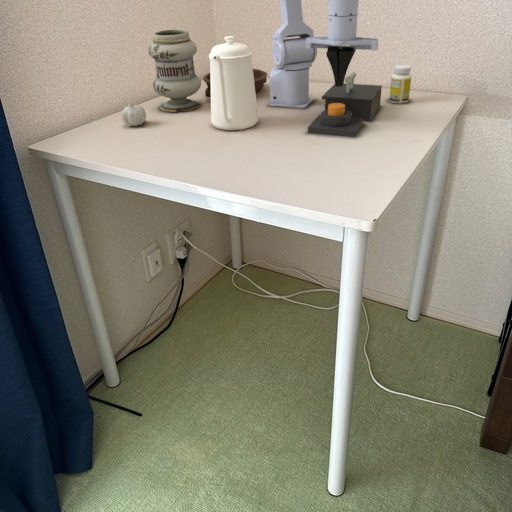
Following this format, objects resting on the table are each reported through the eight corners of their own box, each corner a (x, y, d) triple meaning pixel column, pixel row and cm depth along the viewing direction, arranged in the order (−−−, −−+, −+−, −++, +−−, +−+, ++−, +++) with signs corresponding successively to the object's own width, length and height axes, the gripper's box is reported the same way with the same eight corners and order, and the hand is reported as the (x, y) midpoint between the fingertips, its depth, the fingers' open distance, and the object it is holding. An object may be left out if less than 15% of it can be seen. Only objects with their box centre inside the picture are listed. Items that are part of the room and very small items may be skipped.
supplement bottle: (406, 98, 125) (411, 64, 121) (409, 103, 121) (414, 68, 117) (387, 98, 126) (391, 64, 121) (390, 104, 122) (393, 68, 117)
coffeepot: (195, 142, 104) (185, 47, 93) (225, 108, 124) (219, 28, 114) (245, 144, 101) (240, 47, 91) (267, 109, 122) (265, 27, 112)
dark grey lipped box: (324, 118, 114) (325, 99, 112) (337, 103, 124) (338, 86, 121) (370, 122, 110) (371, 102, 108) (379, 106, 120) (381, 88, 118)
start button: (325, 116, 105) (326, 107, 104) (330, 111, 108) (330, 102, 107) (342, 117, 104) (343, 108, 103) (346, 112, 107) (346, 103, 105)
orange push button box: (307, 133, 106) (308, 117, 104) (319, 121, 113) (319, 105, 111) (353, 137, 102) (354, 121, 100) (362, 124, 109) (363, 108, 107)
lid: (321, 99, 112) (322, 79, 110) (335, 86, 122) (336, 67, 119) (371, 102, 108) (373, 81, 106) (381, 88, 118) (383, 68, 115)
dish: (185, 97, 135) (183, 78, 132) (241, 81, 148) (240, 63, 146) (230, 107, 125) (229, 87, 122) (285, 89, 138) (285, 70, 135)
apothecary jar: (159, 116, 121) (147, 37, 111) (154, 103, 131) (142, 30, 121) (207, 110, 124) (200, 32, 114) (198, 98, 133) (191, 26, 124)
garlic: (134, 130, 112) (130, 107, 110) (118, 126, 115) (114, 104, 112) (152, 122, 117) (149, 100, 114) (136, 119, 119) (132, 98, 116)
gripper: (301, 17, 96) (301, 88, 103) (376, 17, 91) (370, 91, 99) (311, 12, 101) (310, 80, 109) (382, 12, 97) (376, 83, 104)
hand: (339, 85), depth 104 cm, fingers closed
